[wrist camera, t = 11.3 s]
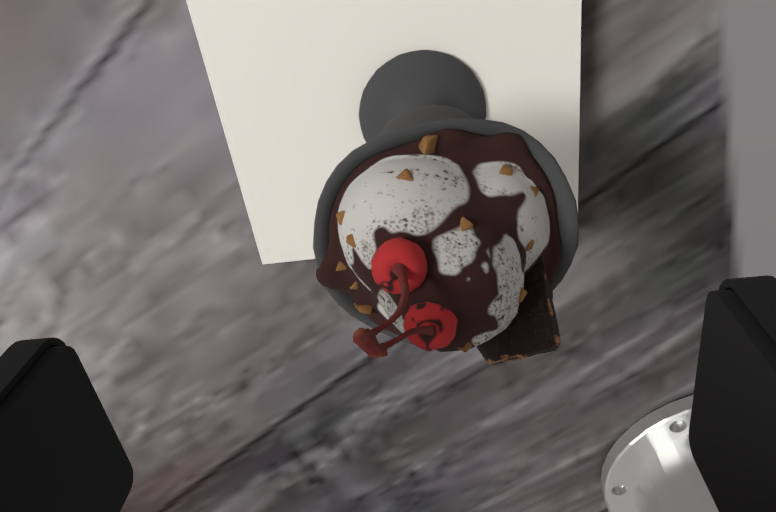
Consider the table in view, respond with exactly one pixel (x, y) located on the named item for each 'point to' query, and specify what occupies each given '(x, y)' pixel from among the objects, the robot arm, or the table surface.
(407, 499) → the table surface
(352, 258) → the sundae
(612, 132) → the table surface
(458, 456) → the table surface
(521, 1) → the board
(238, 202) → the table surface
